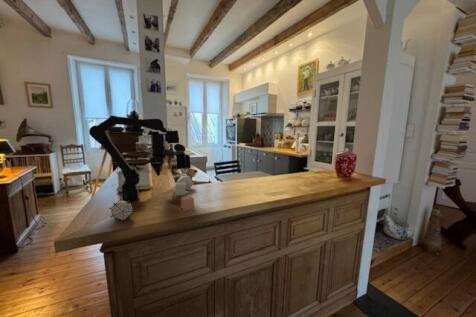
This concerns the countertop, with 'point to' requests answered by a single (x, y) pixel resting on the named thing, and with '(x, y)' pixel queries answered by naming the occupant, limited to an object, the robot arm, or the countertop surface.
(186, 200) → the terracotta block
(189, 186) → the die
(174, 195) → the walnut base
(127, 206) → the game die
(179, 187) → the sage block
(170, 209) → the countertop surface
